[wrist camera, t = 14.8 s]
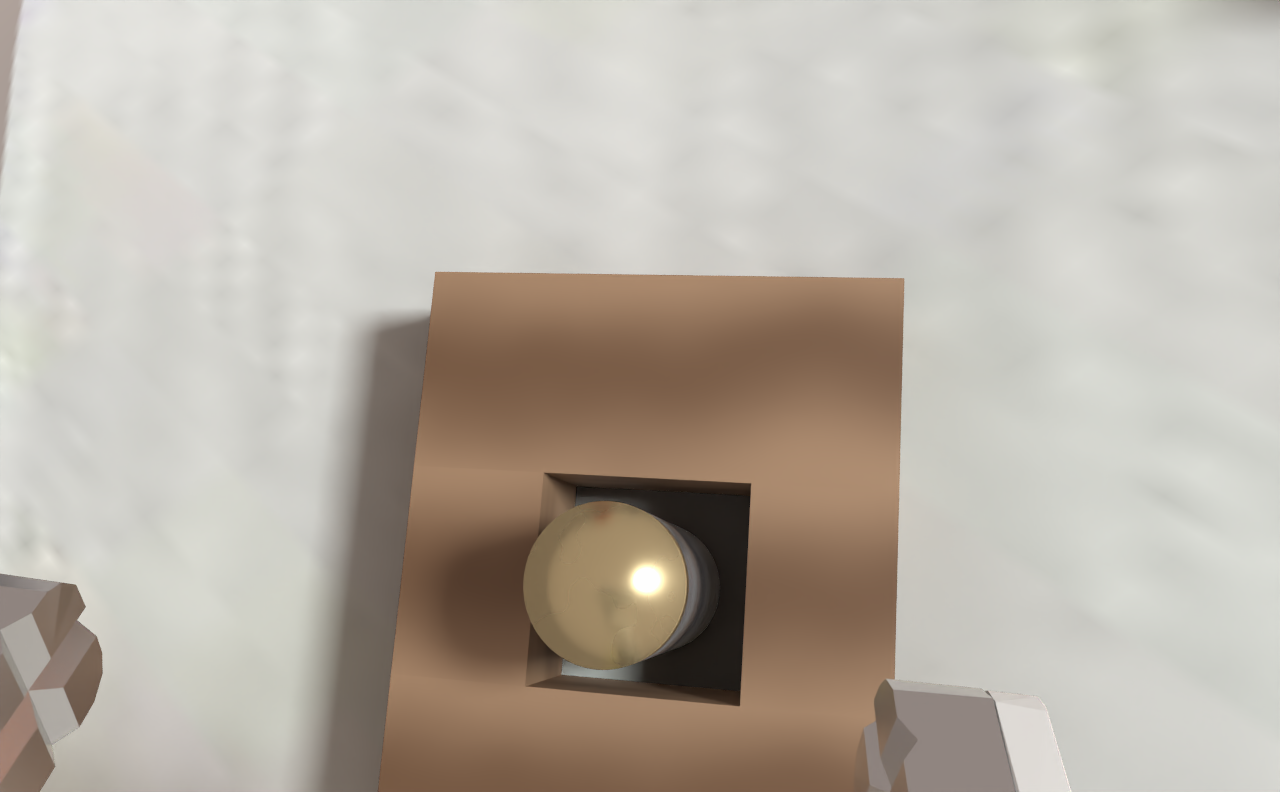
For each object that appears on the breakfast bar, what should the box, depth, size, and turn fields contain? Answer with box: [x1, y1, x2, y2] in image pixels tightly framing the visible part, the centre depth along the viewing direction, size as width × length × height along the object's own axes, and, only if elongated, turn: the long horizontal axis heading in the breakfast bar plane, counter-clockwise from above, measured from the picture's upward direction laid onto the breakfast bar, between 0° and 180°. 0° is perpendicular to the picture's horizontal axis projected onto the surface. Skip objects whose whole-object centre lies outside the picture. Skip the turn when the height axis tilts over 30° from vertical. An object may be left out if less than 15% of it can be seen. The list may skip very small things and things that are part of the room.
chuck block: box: [378, 272, 904, 792], centre depth 30 cm, size 18×14×4 cm
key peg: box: [523, 501, 720, 670], centre depth 28 cm, size 4×4×8 cm
